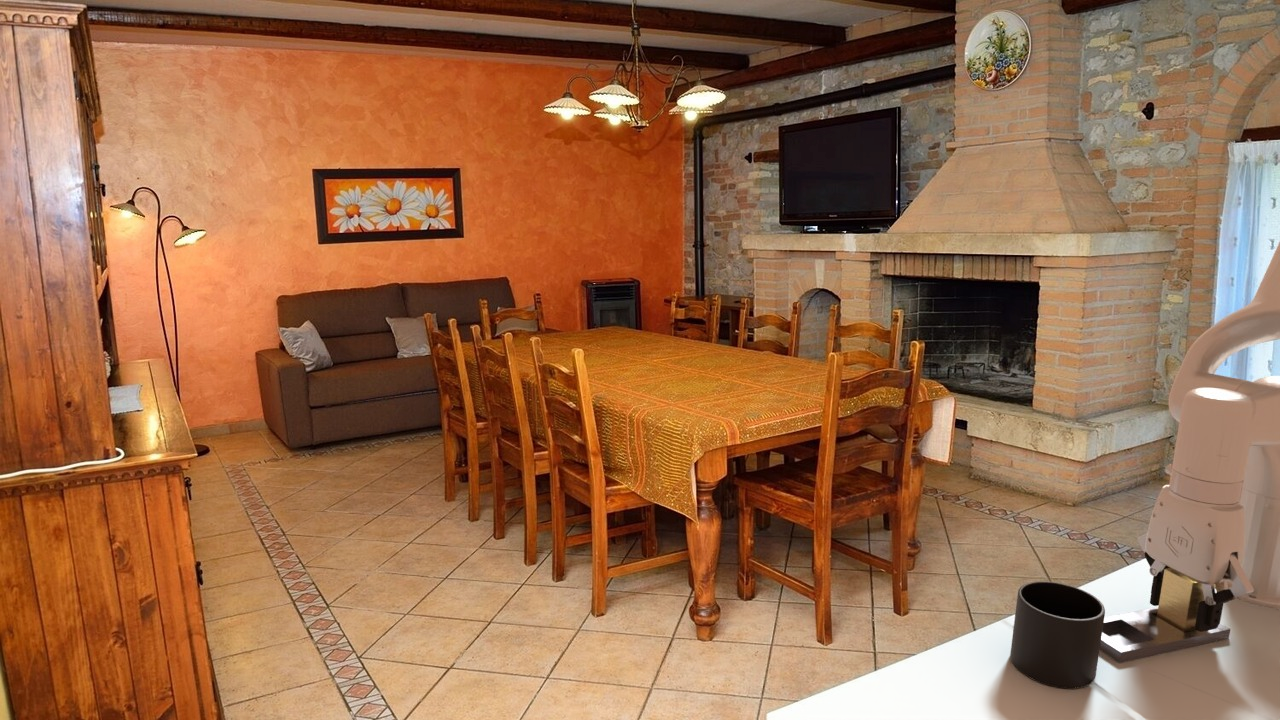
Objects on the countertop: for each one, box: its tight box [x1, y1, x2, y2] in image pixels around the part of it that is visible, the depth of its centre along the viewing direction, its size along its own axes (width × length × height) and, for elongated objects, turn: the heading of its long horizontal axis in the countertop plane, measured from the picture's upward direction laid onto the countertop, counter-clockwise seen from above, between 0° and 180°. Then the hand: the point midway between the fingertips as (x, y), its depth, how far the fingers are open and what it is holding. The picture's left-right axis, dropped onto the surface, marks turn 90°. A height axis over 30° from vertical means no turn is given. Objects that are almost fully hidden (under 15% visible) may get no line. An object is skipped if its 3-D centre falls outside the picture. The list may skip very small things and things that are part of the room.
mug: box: [1009, 580, 1106, 689], centre depth 102 cm, size 9×12×9 cm
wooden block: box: [1157, 568, 1216, 633], centre depth 109 cm, size 4×4×8 cm
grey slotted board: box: [1099, 606, 1231, 664], centre depth 108 cm, size 18×7×2 cm, turn 108°
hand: (1182, 614), depth 110 cm, fingers open, 5 cm apart
